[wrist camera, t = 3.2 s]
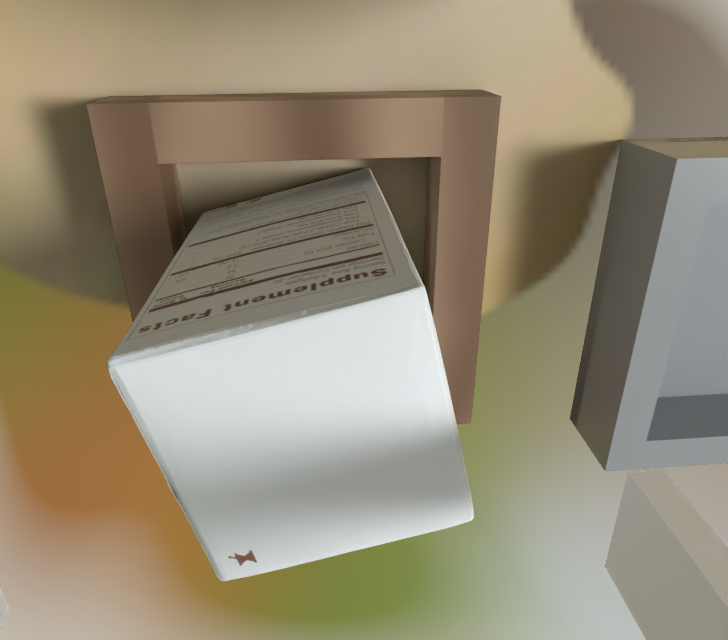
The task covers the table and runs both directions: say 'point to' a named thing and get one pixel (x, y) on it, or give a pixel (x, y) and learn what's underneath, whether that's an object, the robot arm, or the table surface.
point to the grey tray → (660, 311)
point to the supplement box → (296, 382)
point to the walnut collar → (312, 142)
